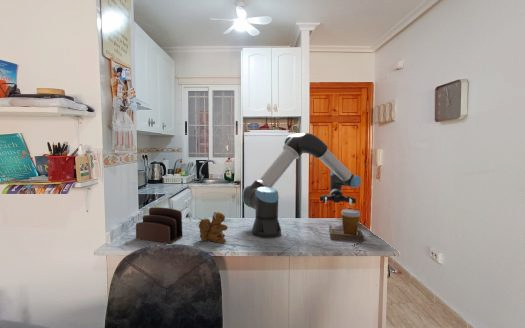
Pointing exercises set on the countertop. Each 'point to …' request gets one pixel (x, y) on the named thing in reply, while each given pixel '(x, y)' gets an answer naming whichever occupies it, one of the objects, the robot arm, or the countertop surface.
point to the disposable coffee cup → (350, 221)
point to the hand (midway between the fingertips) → (338, 202)
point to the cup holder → (345, 235)
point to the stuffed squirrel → (213, 228)
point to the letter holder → (160, 225)
